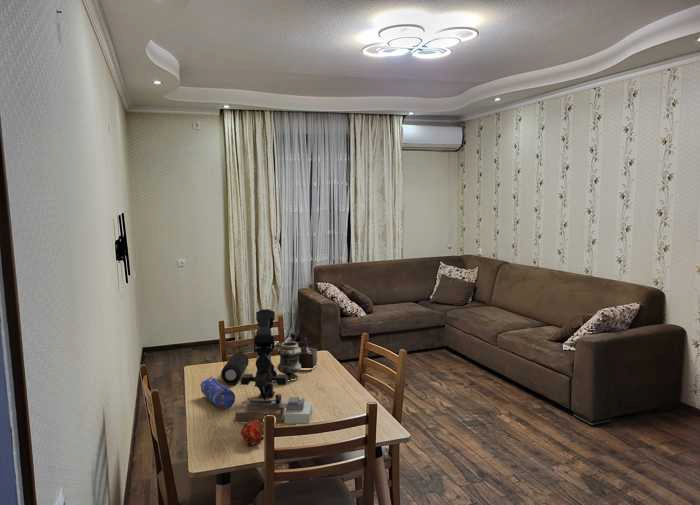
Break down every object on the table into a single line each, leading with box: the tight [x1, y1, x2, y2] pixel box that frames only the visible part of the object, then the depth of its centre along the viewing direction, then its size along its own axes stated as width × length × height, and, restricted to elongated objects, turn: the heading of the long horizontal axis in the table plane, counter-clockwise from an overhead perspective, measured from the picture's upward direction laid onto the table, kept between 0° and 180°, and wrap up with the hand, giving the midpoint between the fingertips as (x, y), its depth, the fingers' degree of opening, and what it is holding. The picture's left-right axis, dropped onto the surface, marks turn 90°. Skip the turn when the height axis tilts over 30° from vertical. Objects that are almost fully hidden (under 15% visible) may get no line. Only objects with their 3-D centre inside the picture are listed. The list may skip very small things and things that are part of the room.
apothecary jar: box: [277, 341, 301, 380], centre depth 259 cm, size 12×12×18 cm
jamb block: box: [283, 396, 313, 424], centre depth 212 cm, size 12×10×8 cm
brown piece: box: [289, 331, 318, 368], centre depth 277 cm, size 16×11×18 cm
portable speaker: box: [220, 352, 249, 385], centre depth 261 cm, size 26×10×10 cm, turn 1°
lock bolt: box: [271, 393, 300, 409], centre depth 212 cm, size 12×2×5 cm, turn 88°
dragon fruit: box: [240, 420, 265, 447], centre depth 189 cm, size 8×8×12 cm
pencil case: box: [200, 376, 236, 411], centre depth 227 cm, size 22×9×10 cm, turn 35°
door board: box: [234, 399, 285, 424], centre depth 212 cm, size 12×18×6 cm, turn 88°
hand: (264, 399), depth 212 cm, fingers closed
